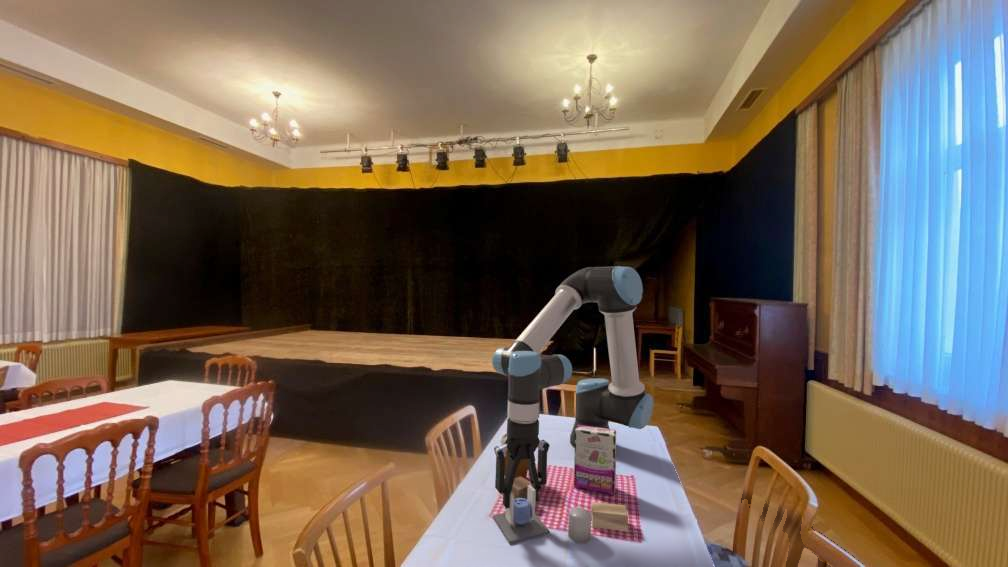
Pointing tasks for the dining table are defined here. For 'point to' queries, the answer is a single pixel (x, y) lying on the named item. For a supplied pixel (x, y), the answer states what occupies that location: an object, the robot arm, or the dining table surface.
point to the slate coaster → (520, 528)
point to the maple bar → (609, 516)
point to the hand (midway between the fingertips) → (520, 517)
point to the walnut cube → (520, 487)
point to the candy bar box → (595, 459)
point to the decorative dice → (521, 511)
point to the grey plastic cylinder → (579, 525)
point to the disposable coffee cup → (522, 466)
